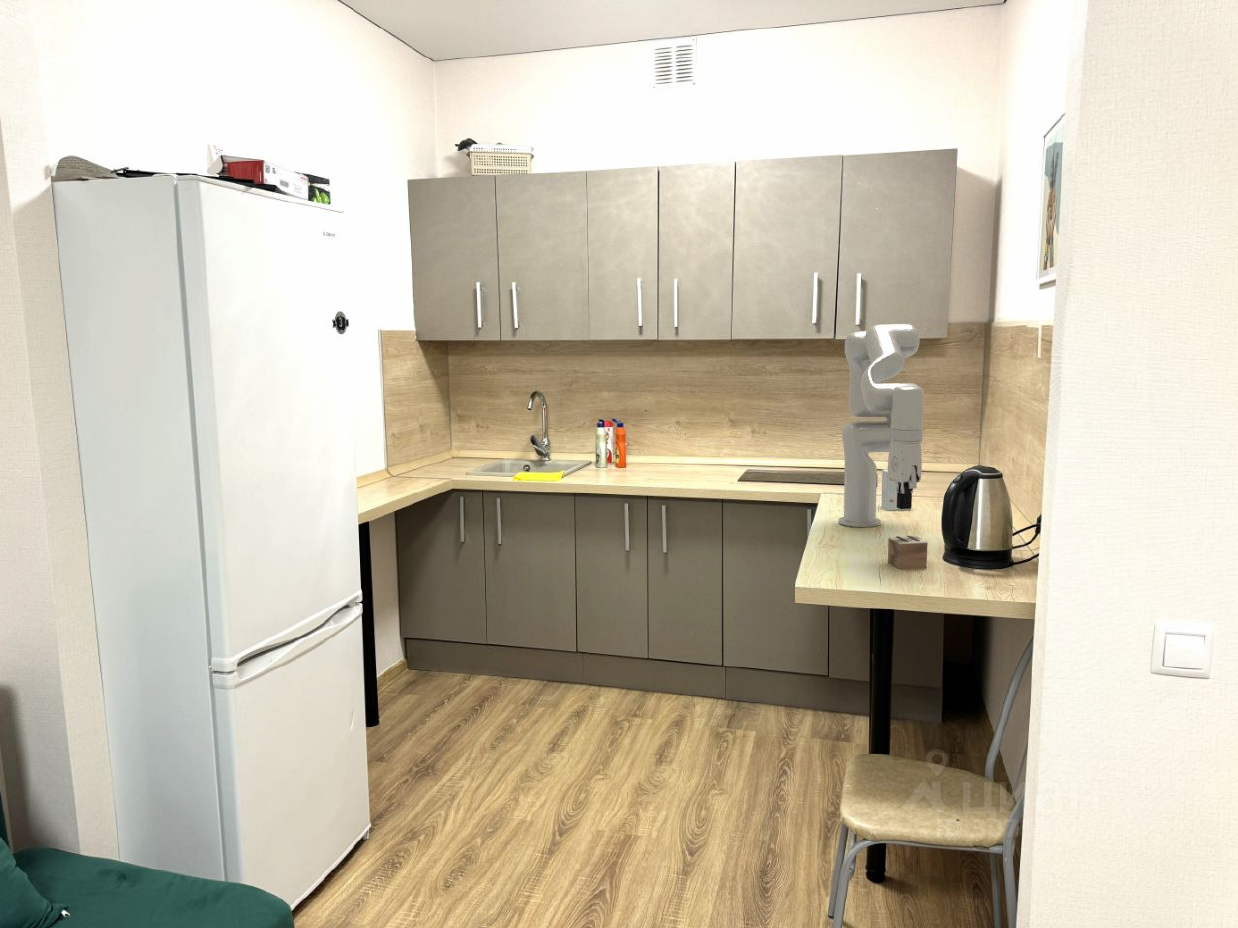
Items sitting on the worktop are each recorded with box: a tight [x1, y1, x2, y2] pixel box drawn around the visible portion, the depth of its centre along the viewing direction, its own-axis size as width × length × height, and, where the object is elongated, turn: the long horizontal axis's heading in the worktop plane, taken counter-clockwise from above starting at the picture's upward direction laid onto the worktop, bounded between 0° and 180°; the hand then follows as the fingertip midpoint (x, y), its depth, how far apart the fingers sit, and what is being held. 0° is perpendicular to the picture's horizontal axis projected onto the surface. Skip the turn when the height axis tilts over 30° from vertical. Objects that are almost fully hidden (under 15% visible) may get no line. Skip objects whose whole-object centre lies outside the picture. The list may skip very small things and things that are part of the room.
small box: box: [881, 468, 911, 511], centre depth 293 cm, size 8×6×13 cm
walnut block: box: [887, 535, 928, 570], centre depth 220 cm, size 7×7×7 cm
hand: (904, 508), depth 221 cm, fingers closed
